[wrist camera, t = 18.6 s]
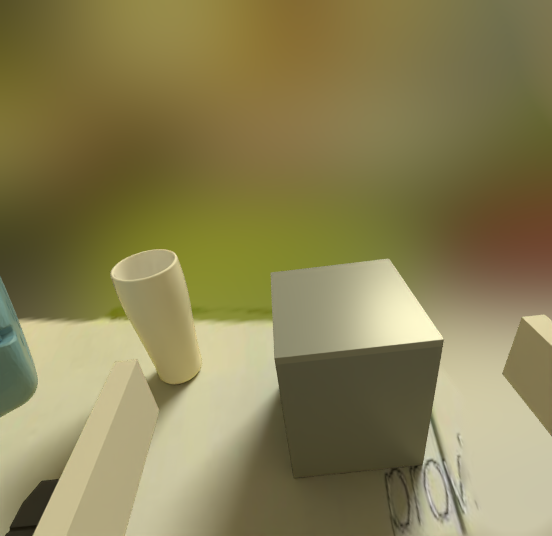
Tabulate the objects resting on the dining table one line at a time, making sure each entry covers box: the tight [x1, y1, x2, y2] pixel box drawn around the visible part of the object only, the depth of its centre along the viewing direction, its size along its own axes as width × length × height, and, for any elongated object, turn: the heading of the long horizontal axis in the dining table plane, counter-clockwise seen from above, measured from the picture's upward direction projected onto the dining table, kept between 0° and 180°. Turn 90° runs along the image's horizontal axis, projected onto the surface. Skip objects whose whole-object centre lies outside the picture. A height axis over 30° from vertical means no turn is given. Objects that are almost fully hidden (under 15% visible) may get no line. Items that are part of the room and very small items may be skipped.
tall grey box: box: [271, 259, 444, 478], centre depth 30 cm, size 11×11×14 cm
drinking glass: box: [111, 249, 202, 384], centre depth 38 cm, size 7×7×15 cm
